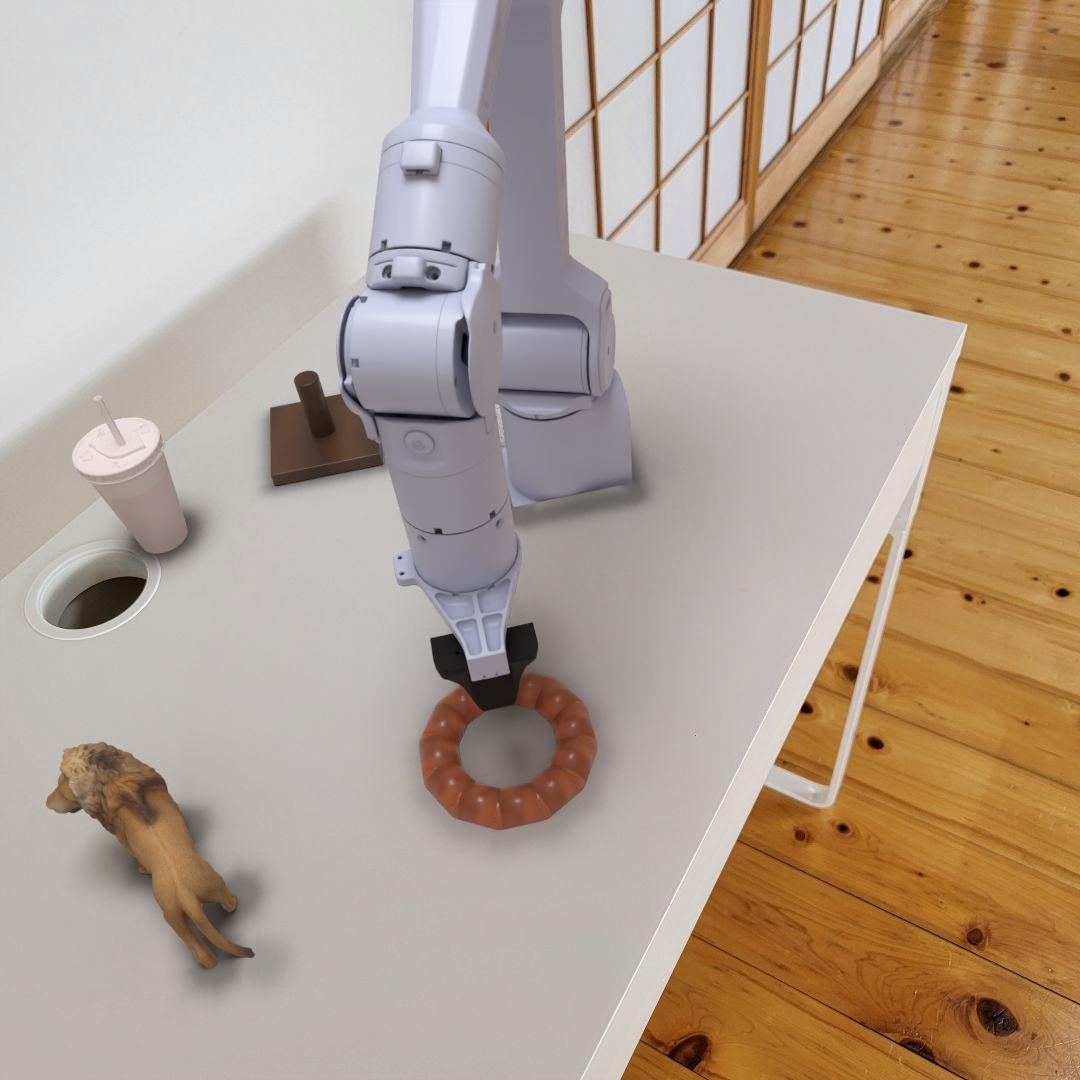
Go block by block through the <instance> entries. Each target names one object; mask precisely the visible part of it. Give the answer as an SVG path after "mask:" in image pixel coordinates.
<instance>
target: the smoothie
mask: <svg viewBox="0 0 1080 1080" xmlns="http://www.w3.org/2000/svg"><path fill="white" fill-rule="evenodd" d="M93 401H94V403H95V405H96V407H97V409H98V411H99V413H100V415H101V416H102V418H103V420H104V423H101V424H99V425H98V426H95V427H94V428H93V429H91V430H89V431H88V432H87V433H86V434H84V435H83V436H82V437H81V438H80V439H79V440H78V442H77V443H76V444H75V445H74V448H73V451H72V454H71V462H72V464H73V466H74V468H75V471H76V474H77V475H78V476H79V477H80V478H81V480H83V481H85V482H87V483H89V484H91V485H92V487H93V488H94V489H95V491H96V492H97V493H98V494H99V496H100V497H101V498H102V499H103V501H105V503H106V504H107V505H108V507H109V508H110V509H111V510H112V512H113V514H115V515H116V517H117V518H118V519H119V520H120V521H121V523H122V524H123V525H124V527H125V528H126V529H127V531H128V532H129V533H130V534H131V535H132V537H133V538H134V539H135V540H136V541H137V543H138V544H139V546H140V547H141V548H142V549H143V550H144V551H145V552H147V553H148V554H149V553H150V554H154V555H155V554H157V555H159V554H165V553H169V552H170V551H173V550H175V549H176V548H178V547H179V546H180V545H182V544H183V543H184V541H185V540H186V538H187V537H188V533H189V529H188V526H187V525H188V524H187V523H186V522H187V521H186V519H185V515H184V513H183V510H182V505H181V503H180V500H179V497H178V493H177V490H176V487H175V484H174V480H173V477H172V475H171V471H170V468H169V464H168V461H167V457H166V456H165V452H164V450H165V439H164V436H163V434H162V433H161V432H160V430H159V429H160V428H159V427H158V426H157V425H156V424H155V423H154V422H153V421H151V420H150V419H146V418H143V417H136V416H135V417H131V416H130V417H120V418H116V419H114V418H113V416H112V414H111V412H110V410H109V408H108V406H107V405H106V402H105V400H104V399H103V397H102V395H95V396H94V397H93Z"/></svg>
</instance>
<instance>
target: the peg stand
mask: <svg viewBox="0 0 1080 1080" xmlns="http://www.w3.org/2000/svg"><path fill="white" fill-rule="evenodd" d="M293 384H294V386H295V389H296V392H297V396H298V398H299V401H296V402H291V403H287V404H281V405H277V406H272V407H271V406H270V408H269V433H270V434H269V435H270V439H269V441H270V446H269V447H270V478H271V480H272V483H273V486H282V485H285V484H291V483H296V482H301V481H305V480H311V479H316V478H320V477H326V476H331V475H336V474H342V473H346V472H350V471H356V470H361V469H367V468H371V467H376V466H380V465H384V461H383V453H382V444H381V443H377V442H376V441H375V440H371V439H370V438H368V437H367V434H366V430H365V427H364V424H363V421H362V419H361V418H360V416H359V415H357V414H355V413H353V412H352V411H351V410H350V409H349V408H348V407H347V405H346V404H345V402H344V400H343V398H342V395H341V393H338V394H337V393H336V394H333V395H327V396H325V392H324V389H323V385H322V382H321V379H320V375H319V373H317V372H316V371H314V370H304V371H301V372H299V373H297V374H296V375H295V376H294V378H293Z"/></svg>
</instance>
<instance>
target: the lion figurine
mask: <svg viewBox="0 0 1080 1080" xmlns="http://www.w3.org/2000/svg"><path fill="white" fill-rule="evenodd" d="M61 758H62V761H61V762H60V767H59V771H60V775H59V776H58V778H57V787H56V788H55V789H54V790H53V791H52V792H51V793H50V794H49V795H48V796H47V798H46V801H45V807H46V808H47V809H48V810H53V811H54V812H55V813H57V814H61V815H64V814H65V815H66V814H69V813H70V814H77V813H78V812H80V811H81V810H83V811H84V812H85V814H87V815H89V817H91V819H93V820H97V821H98V822H99V823H100V825H101V826H102V827H103V828H104V829H105V831H107V832H108V833H109V834H112V835H113V836H115V837H116V839H117V841H118V842H119V843H120V844H121V845H123V847H124V848H125V850H126V851H127V853H129V855H131V857H133V858H136V859H137V861H138V872H139V873H141V874H144V875H151V882H152V885H151V886H152V894H153V897H154V899H155V901H156V903H157V904H158V906H159V908H160V909H161V912H162V913H163V919H164V920H165V922H166V923H167V924H168V926H170V927H171V928H172V930H173V931H174V932H175V934H176V935H177V936H178V937H179V938H180V939H181V940H182V941H183V942H184V943H185V944H186V946H187V947H188V948H189V950H190V951H191V953H192V954H193V956H194V958H195V960H196V961H197V962H198V963H199V964H201V965H202V966H203V967H205V969H208V970H211V969H212V968H214V967H216V966H217V965H218V963H219V958H218V956H217V955H216V954H215V953H214V951H213V950H212V949H211V947H210V946H209V945H207V943H205V941H203V939H202V938H201V937H200V935H199V934H198V932H197V931H196V927H197V928H198V931H200V932H201V933H202V935H204V936H205V937H206V938H207V939H208V940H209V941H210V942H211V943H212V944H213V945H214V946H215V947H217V948H218V949H220V950H221V951H223V952H226V953H227V954H230V955H233V956H236V957H238V958H239V957H240V958H242V959H243V958H244V959H245V958H246V959H253V958H254V957H255V955H256V953H255V952H254V951H253V948H252V947H246V946H242V945H239V944H237V943H235V942H234V943H233V942H232V941H230V940H228V938H226V937H224V936H223V935H222V934H221V933H220V932H219V931H218V930H217V929H216V928H215V927H214V926H213V925H212V923H211V922H210V920H209V919H208V917H207V916H206V914H205V912H204V911H203V904H209V903H220V904H221V907H222V908H223V909H224V910H225V911H227V912H228V913H232V912H233V911H235V909H236V908H237V907H238V903H239V899H238V897H237V896H236V895H235V894H233V893H232V892H231V891H230V889H229V888H228V886H227V884H226V882H225V880H224V878H223V876H221V874H219V873H218V872H217V871H216V870H215V869H214V868H213V866H212V865H211V864H210V862H208V861H207V860H206V859H204V858H202V857H201V856H200V855H199V854H198V853H197V852H196V848H195V842H194V840H193V837H192V836H191V834H190V832H189V831H188V825H187V821H186V820H185V817H184V815H183V813H182V810H181V809H180V806H179V804H178V803H177V802H176V801H175V800H174V798H173V797H172V795H171V794H170V792H169V790H168V784H167V782H166V780H165V778H164V777H163V775H161V773H159V772H157V771H156V768H154V767H151V766H149V765H148V764H147V763H144V762H143V761H141V760H140V759H138V758H136V757H135V756H134V754H133V753H131V752H129V751H124V750H123V749H119V748H117V747H116V746H114V745H113V744H108V743H107V742H106V741H98V742H96V743H92V742H91V743H84V744H83V743H82V744H79V745H78V746H73V747H66V748H64V749H63V754H62V757H61ZM195 926H196V927H195Z"/></svg>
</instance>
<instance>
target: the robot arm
mask: <svg viewBox="0 0 1080 1080" xmlns="http://www.w3.org/2000/svg"><path fill="white" fill-rule="evenodd" d="M564 1H565V0H413V15H412V16H413V17H412V45H411V47H412V48H411V50H412V51H411V54H412V55H411V81H410V84H411V85H410V110H409V111H410V115H409V117H406V118H405V119H404V120H402V121H401V122H400V123H399V124H398V123H397V125H396V126H394V127H393V128H391V129H390V130H389V131H388V133H386V135H385V137H384V138H383V140H382V143H381V152H380V160H379V167H378V175H377V184H376V190H375V191H376V193H375V200H374V208H373V216H372V225H371V232H370V240H369V241H370V242H369V250H368V257H367V266H366V274H365V281H364V282H365V284H366V286H365V288H363V289H362V291H361V293H360V294H355V295H352V296H351V297H349V298H348V300H347V301H346V302H345V305H344V306H343V307H342V311H341V313H340V316H339V320H338V324H337V331H336V343H335V345H336V346H335V351H336V352H335V353H336V366H337V371H338V376H339V383H338V389H339V392H340V393H339V394H341V395H342V398H343V400H344V402H345V404H346V405H347V407H348V408H349V409H350V410H351V411H352V412H353V413H355V414H357V415H359V416H360V418H361V419H362V421H363V424H364V427H365V430H366V434H367V437H368V438H370V439H371V440H375V441H376V442H377V443H380V445H381V449H382V451H383V455H384V458H385V462H386V465H387V466H386V467H387V469H388V473H389V477H390V480H391V484H392V488H393V491H394V495H395V498H396V502H397V505H398V508H399V512H400V515H401V516H400V517H401V520H402V523H403V527H404V530H405V534H406V536H407V537H406V538H407V541H408V545H409V548H410V549H408V550H404V551H400V552H398V553H396V554H395V555H394V556H393V560H392V562H393V563H392V564H393V571H394V576H395V580H396V583H397V585H398V586H400V587H403V588H404V587H411V586H417V587H419V588H420V590H421V591H422V592H423V594H424V595H425V596H426V597H427V598H428V601H429V603H431V605H432V606H433V607H434V609H435V610H436V612H437V614H438V615H439V616H440V617H441V618H442V620H443V621H444V623H445V624H446V627H448V628H449V630H450V631H451V633H447V634H442V635H438V636H433V637H430V638H429V642H430V647H431V655H432V660H433V665H434V667H435V670H436V672H437V674H438V675H439V676H440V677H441V679H443V680H446V681H449V682H453V683H455V684H457V685H459V686H460V685H461V686H462V687H463V688H464V689H465V690H466V692H467V693H468V694H469V695H470V697H471V698H472V700H473V701H474V702H475V704H476V705H477V706H478V707H479V708H480V709H481V710H482V711H484V712H487V711H488V712H489V711H493V710H498V709H502V708H507V707H511V706H514V705H515V702H516V699H517V695H518V691H519V685H520V680H521V676H522V674H523V672H524V670H525V671H526V669H527V667H528V666H529V665H531V664H532V663H533V662H535V660H536V659H537V658H538V651H539V641H538V637H537V633H536V629H535V624H534V622H528V623H523V624H518V625H514V626H509V621H510V617H511V616H510V615H511V613H512V607H513V605H514V604H513V602H514V600H515V599H514V598H515V594H516V591H517V586H518V582H519V577H520V572H521V569H522V562H523V549H522V543H521V540H520V536H519V535H518V533H517V531H516V528H515V523H514V517H513V516H514V515H513V511H512V508H518V507H522V506H527V505H532V504H537V503H541V502H546V501H550V500H556V499H561V498H566V497H571V496H575V495H580V494H585V493H590V492H595V491H600V490H606V489H609V488H615V487H621V486H624V485H625V486H626V485H630V484H633V483H634V481H633V459H632V457H633V455H632V453H633V452H632V430H631V428H632V427H631V417H630V411H629V405H628V400H627V395H626V391H625V387H624V384H623V380H622V379H621V375H620V374H619V371H618V370H617V369H616V368H615V361H616V346H617V345H616V344H617V343H616V342H617V341H616V337H617V334H616V321H615V320H616V319H615V315H614V313H613V303H612V302H613V301H612V290H611V289H610V288H609V282H608V280H606V279H605V278H604V277H603V276H601V275H599V274H598V273H597V272H595V271H593V270H592V269H590V268H589V267H588V266H586V265H584V264H583V263H581V262H580V261H579V260H577V259H576V258H574V257H573V256H572V255H571V254H570V233H569V232H570V231H569V203H568V202H569V201H568V200H569V199H568V180H567V179H568V177H567V176H568V175H567V149H566V147H567V145H566V144H567V143H566V122H565V119H566V117H565V93H564V67H563V66H564V65H563V61H564V60H563V37H562V36H563V35H562V34H563V33H562V13H563V7H564ZM487 126H488V128H489V129H488V130H489V131H488V130H487ZM497 251H498V257H499V263H497V264H496V260H497ZM496 405H498V406H499V411H500V417H501V422H502V429H503V430H502V431H503V436H504V440H505V441H504V443H505V446H504V447H502V442H501V436H500V430H499V423H498V416H497V415H498V414H497V410H496Z"/></svg>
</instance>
